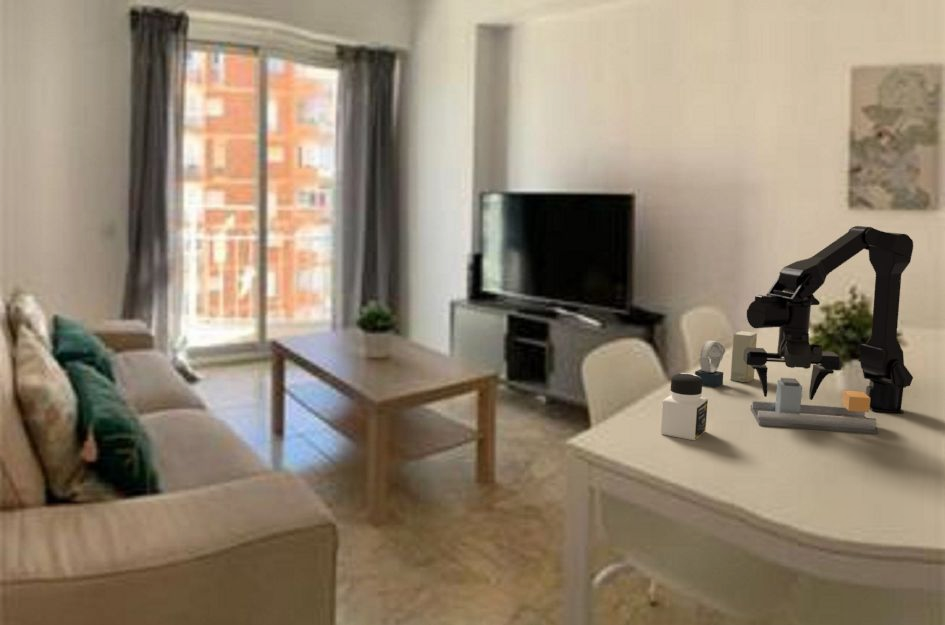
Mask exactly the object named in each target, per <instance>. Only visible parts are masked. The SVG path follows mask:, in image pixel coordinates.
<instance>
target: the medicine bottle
mask: <svg viewBox="0 0 945 625" xmlns="http://www.w3.org/2000/svg"><path fill="white" fill-rule="evenodd" d="M702 381H703V380H702V378H701V377H699V376H697V375H695V373H688V372H687V373H686V372H685V373H684V372H681V373H675V374H673V375H672V376H671V377H670V391H669V392H670V393H669V394H670V395H668V397H666V398H665V399H663V400H662V408H661V424H660V434H661V435H664V436H668V437H669V436H670V437H674V438H679V439H684V440H690V441H696V440H698V438H700V437H701V436H702V435H703V434H704V433H705V432H706V429H707V428H706V426H707V415H708V403H709V402H708V400H709V399H708V398H707V397H703V396H702V392H703V385H702Z"/></svg>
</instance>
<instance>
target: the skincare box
mask: <svg viewBox="0 0 945 625" xmlns="http://www.w3.org/2000/svg"><path fill="white" fill-rule="evenodd" d="M757 337H758V332H754V331H753V332H752V331H744V330H740V331H737V332H736V333H733V337H732V352H731V368H730V381H734V382H739V383H740V382H741V383H748V382H750V381H752V380H754V379H755V371H756V369H753V368H752V367H751V365H747V364H746V363H745V361H744V360H743V356H744V350H745V349H746V348H747V347H750V348H757Z"/></svg>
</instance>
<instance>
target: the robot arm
mask: <svg viewBox="0 0 945 625" xmlns="http://www.w3.org/2000/svg"><path fill="white" fill-rule="evenodd" d="M863 250H866V251H868V260H869V263H870V265H871V267H872V269H873V271H874V272H875V282H874V292H873V294H874V295H873V310H872V320H871V321H872V322H871V323H872V324H871V335H870V338H869V339H868V341H867V342H866V343H861V344H860V346H859V358H858V362H860V368H861V370H862V374H863V375H862V376H863V378H864V379H866V380H869V385H867V386H866V388H865V389H866V390H865V394H866V395H868V396H869V397H870V408H869V410H871V411H872V412H883V413H895V414H896V413H897V414H904V413H905V412H904V409H902V404H903V396H904V388H907V387H910V386H911V384H912V381H913V379H914V377H913V375H912V374H911V372H910V371H909V369H908V368H907V366H906V365H905V360H904V359H905V358H904V351H903V349H902V346H901V345H900V343H899V341H898V338H897V336H898V325H899V324H898V323H899V308H900V297H901V283H902V274H903V273H904V271H905V270H906V268H907V267H908V266H909V264H911V260H912V256H913V250H914V241H913V239H911V237H910V236H909V235H908V234H906V233H896V232H888V231H887V232H886V231H882V230H879V229H877V228H874V227H872V226H862V225H854V226H852V227H850V229H848V231H847V232H846V233H845V234H843V235H842V236H840V237H839V238H837V239H835V241H833V242H832V243H830V244H829V245H827V246H826V247H824V248H823V249H821V250H820V251H818V252H817V253H816V254H814V255H813V256H811V257H808V258H806V259H801V260H796V261H794V262H792V263H789V264H788V265H785V266H783V268H782V269H780V271H779V272H778V273H779V275H778V277H777V278H776V280H775V281H774V282H773V284H772V286H771V287H770V288H769V289H768V291H767V293H766V294H765V295H762V294H756V295H755V296H754V301H752V302H751V303H750V304H748V308H747V310H746V320H747V322H748V324H749V326H751V328H753V329H766V328H767V329H771V328H779V329H778V341H777V342H778V343H777V350H776V351H777V352H767V351H766V350H765V348H763V347H756V348H750V347H747V348H746V349H745V350H744V356H743V360H744V361H745V363H746V364H747V365H751V367H752V368H753V369H755V371H756V373H757V376H758V379H759V382H760V386H761V389H762V394H763V396H764V397H765V398H767V397H768V367H767V365H766V364H767V362H772V363H784V364H785V366H786V367H788V368H791V369H793V368H802V369H803V370H804V369H805V370H807V369H808V370H809V369H810V368H811V366H812V369H811V371H812V372H811V379H810V385H809V390H808V391H809V393H808V394H809V398H808V399H809V400H810V401H812V400H814V398H815V395H816V393H817V391H818V389H819V387H820V385H821V383H822V382H823V381H824V379H825V378H826V377H827V376H828V375H830V374H831V375H834V372H835V371H841V370H842V364H843V362H842V358H841V357H840V355H838V354H837V353H835V352H834V351H823V345H822V344H818V343H817V344H816V343H814V344H813V343H812V344H811V343H810V333H809V330H810V320H811V319H810V318H811V312H812V311H811V310H812V309H811V308H812V306H819V305H820V304H821V302H820V300H818V299H817V298H816V297H815V295H814V294H815V293H816V292H817V290H819V289H820V288H821V287H822V286H823V285H824V284H825V281H826V278H827V276H828V275H829V274H830V273H832V272H833V271H835V270H836V269H838V268H839V267H840V266H841V265H843V264H844V263H846V262H847V261H849V260H851V259H852V258H853V257H855V256H856V255H857V254H859V253H860V252H861V251H863Z"/></svg>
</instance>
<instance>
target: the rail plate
mask: <svg viewBox="0 0 945 625" xmlns="http://www.w3.org/2000/svg"><path fill="white" fill-rule="evenodd" d="M775 405H776V401H767V400H766V401H763V400H752V403H751V404H750V411H751V413H752V415H753V416H754V419H755V421H756V422H757V424H758V426H759V427H761V426H762V427H773V428H776V427H777V428H786V429H787V428H790V429H801V430H802V429H805V430H816V431H817V430H818V431H832V432H843V433H844V432H845V433H860V434H870V435H871V434H874V435H878V433H879V429H878V427H877V419H876V418H870V417H866V416H865V414H866V412H859V411H848V410H847V409H846V408H845V407H844V406H838V405H824V404H807V403H801V407H800V413H786V412H775ZM760 425H761V426H760Z"/></svg>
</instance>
